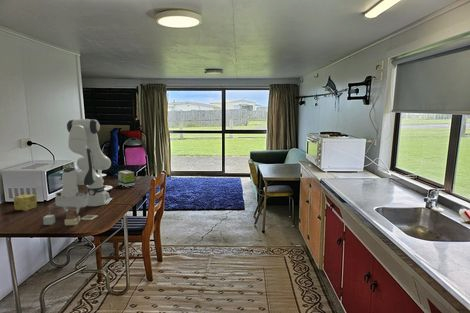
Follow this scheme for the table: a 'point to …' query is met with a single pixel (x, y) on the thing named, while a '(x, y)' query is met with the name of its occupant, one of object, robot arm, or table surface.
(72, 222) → the oak base block
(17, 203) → the cheese
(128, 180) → the tea box
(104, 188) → the candlestick
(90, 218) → the swatch
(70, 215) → the walnut cube
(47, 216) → the grey cube
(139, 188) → the table surface
